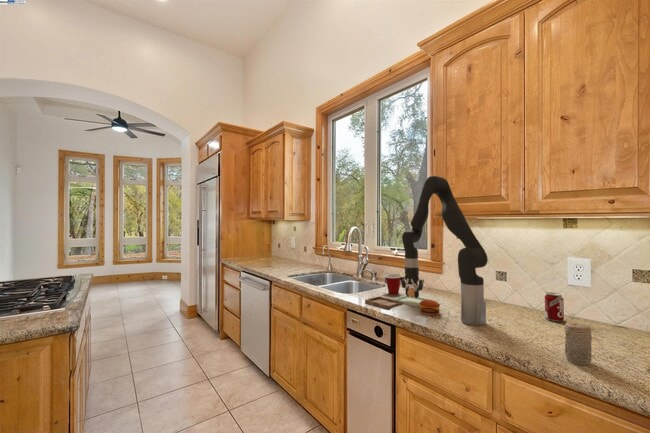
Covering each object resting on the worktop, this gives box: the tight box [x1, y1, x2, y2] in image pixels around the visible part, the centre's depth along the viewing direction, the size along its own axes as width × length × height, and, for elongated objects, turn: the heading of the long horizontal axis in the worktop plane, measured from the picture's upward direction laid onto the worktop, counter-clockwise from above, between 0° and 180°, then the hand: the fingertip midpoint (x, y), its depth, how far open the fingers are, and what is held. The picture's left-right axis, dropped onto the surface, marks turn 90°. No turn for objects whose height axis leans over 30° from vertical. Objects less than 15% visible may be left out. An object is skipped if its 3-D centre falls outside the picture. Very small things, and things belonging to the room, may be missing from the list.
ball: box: [407, 287, 415, 297], centre depth 162 cm, size 5×5×5 cm
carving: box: [564, 321, 593, 366], centre depth 92 cm, size 6×8×12 cm
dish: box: [392, 294, 433, 308], centre depth 162 cm, size 15×15×2 cm
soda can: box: [544, 291, 565, 323], centre depth 132 cm, size 7×7×12 cm
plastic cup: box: [383, 273, 403, 296], centre depth 181 cm, size 11×11×12 cm
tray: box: [364, 295, 403, 310], centre depth 159 cm, size 16×12×2 cm
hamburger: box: [419, 299, 441, 317], centre depth 142 cm, size 9×10×7 cm
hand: (412, 296), depth 162 cm, fingers closed on ball, 5 cm apart
